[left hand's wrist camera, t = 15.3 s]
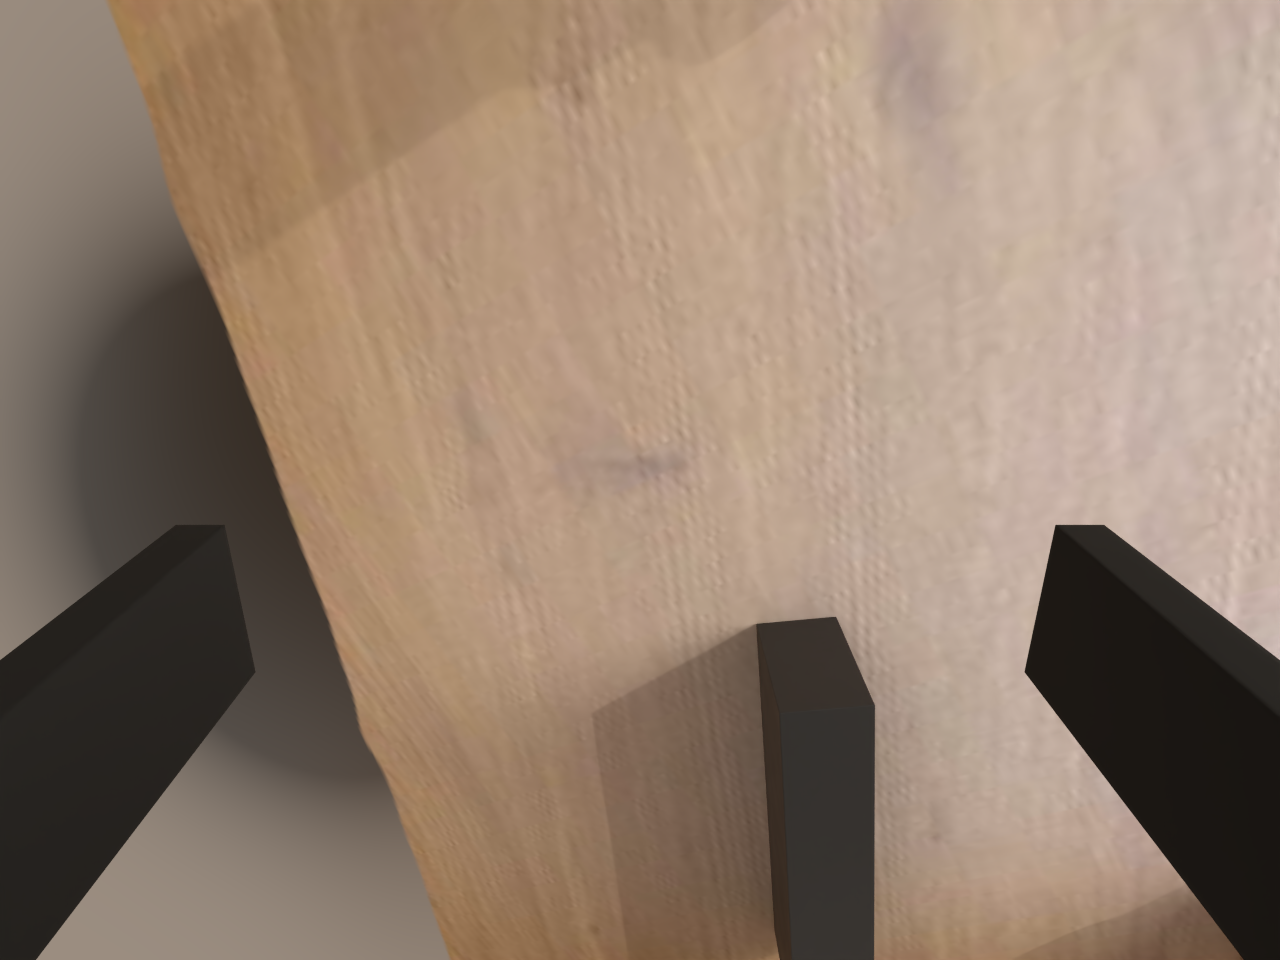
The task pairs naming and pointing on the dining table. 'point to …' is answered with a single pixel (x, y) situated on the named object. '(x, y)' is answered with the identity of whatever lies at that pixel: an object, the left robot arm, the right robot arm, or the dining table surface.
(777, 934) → the bar
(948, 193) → the dining table surface
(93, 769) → the left robot arm
